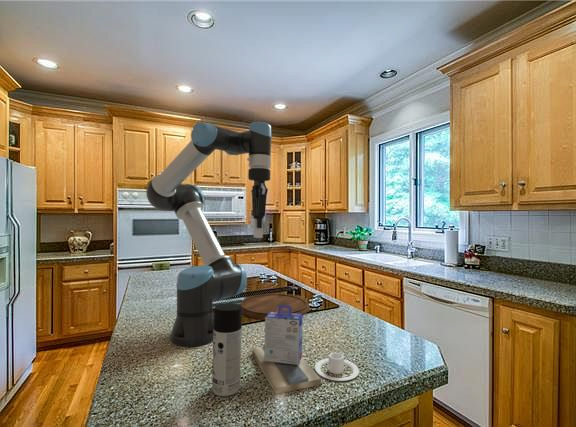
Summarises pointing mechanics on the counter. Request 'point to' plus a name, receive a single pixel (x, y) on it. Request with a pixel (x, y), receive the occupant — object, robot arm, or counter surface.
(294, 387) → the rail board
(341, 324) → the counter surface
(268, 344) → the ink cartridge box
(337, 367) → the candle holder
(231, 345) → the spray can
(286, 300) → the cutting board
